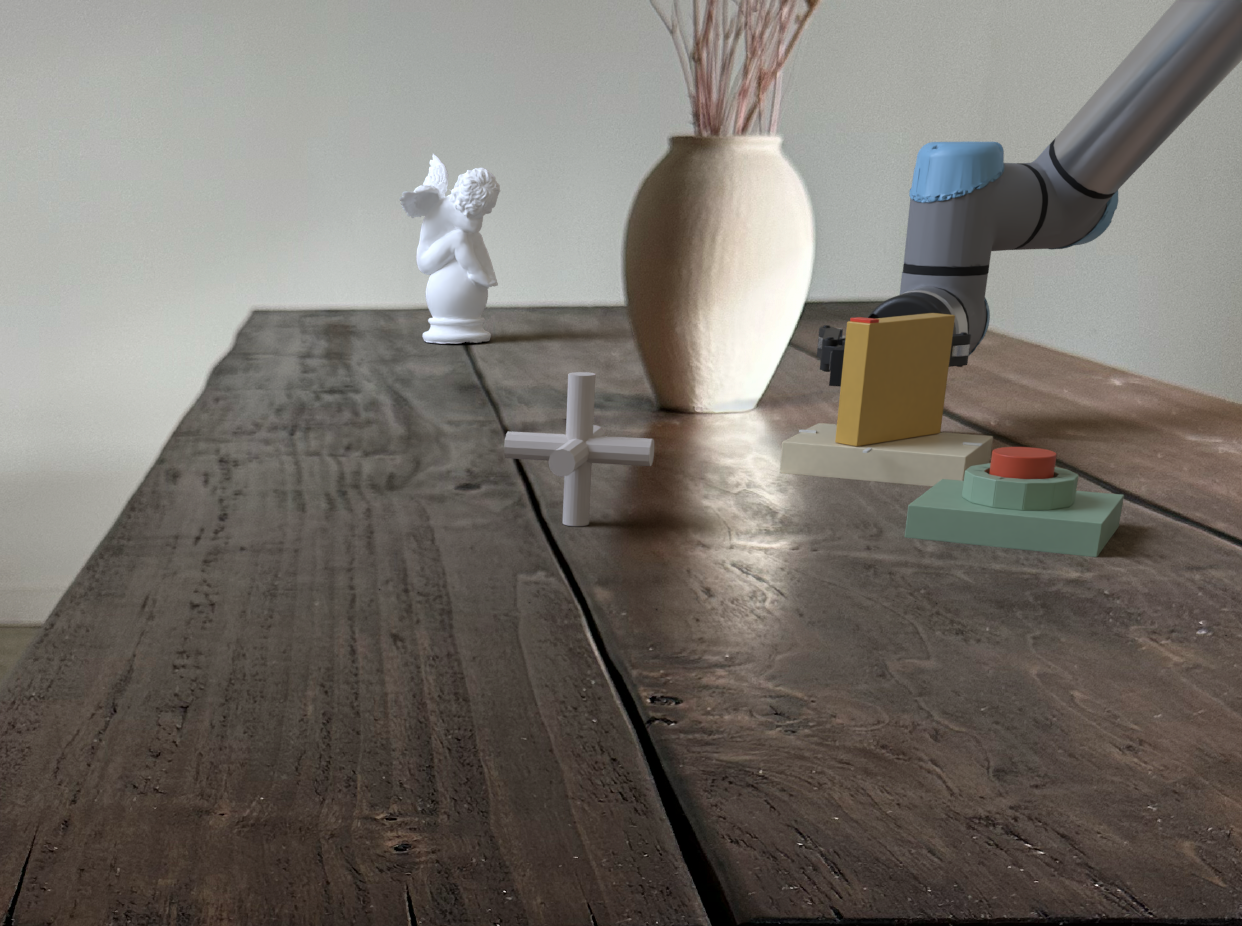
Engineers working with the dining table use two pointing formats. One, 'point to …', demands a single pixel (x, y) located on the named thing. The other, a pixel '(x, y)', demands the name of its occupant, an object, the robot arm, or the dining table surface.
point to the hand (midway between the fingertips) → (840, 368)
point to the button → (1023, 463)
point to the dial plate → (884, 457)
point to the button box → (1016, 513)
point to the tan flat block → (893, 378)
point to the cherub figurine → (454, 251)
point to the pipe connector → (578, 448)
